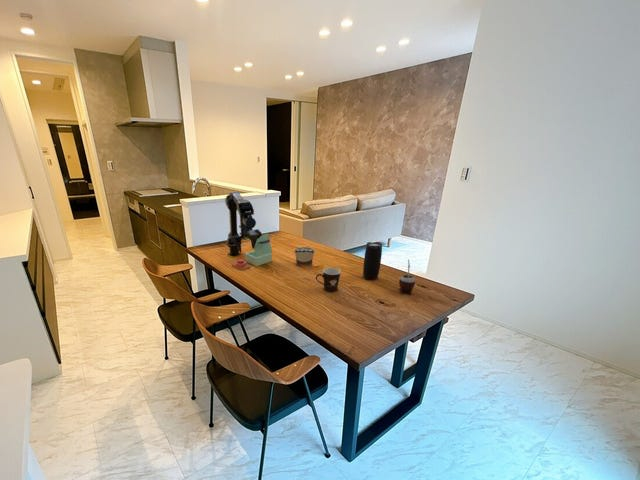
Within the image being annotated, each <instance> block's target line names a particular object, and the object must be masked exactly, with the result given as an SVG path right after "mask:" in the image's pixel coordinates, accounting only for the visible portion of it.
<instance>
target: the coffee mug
mask: <svg viewBox="0 0 640 480" xmlns="http://www.w3.org/2000/svg"><path fill="white" fill-rule="evenodd" d="M341 271H342V270H340V269H339V268H335V267H327V268H324V269H323V270H322V273H319V274H317V275H316V276H315V280H316V282H318V283H319V284H321V285H323V289H324V291H326V292H327V293H335V292H337V291H338V287H339V282H340V278H341ZM319 276H320V277H322V278H323V282H321V281H320V280H318V277H319Z"/></svg>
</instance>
